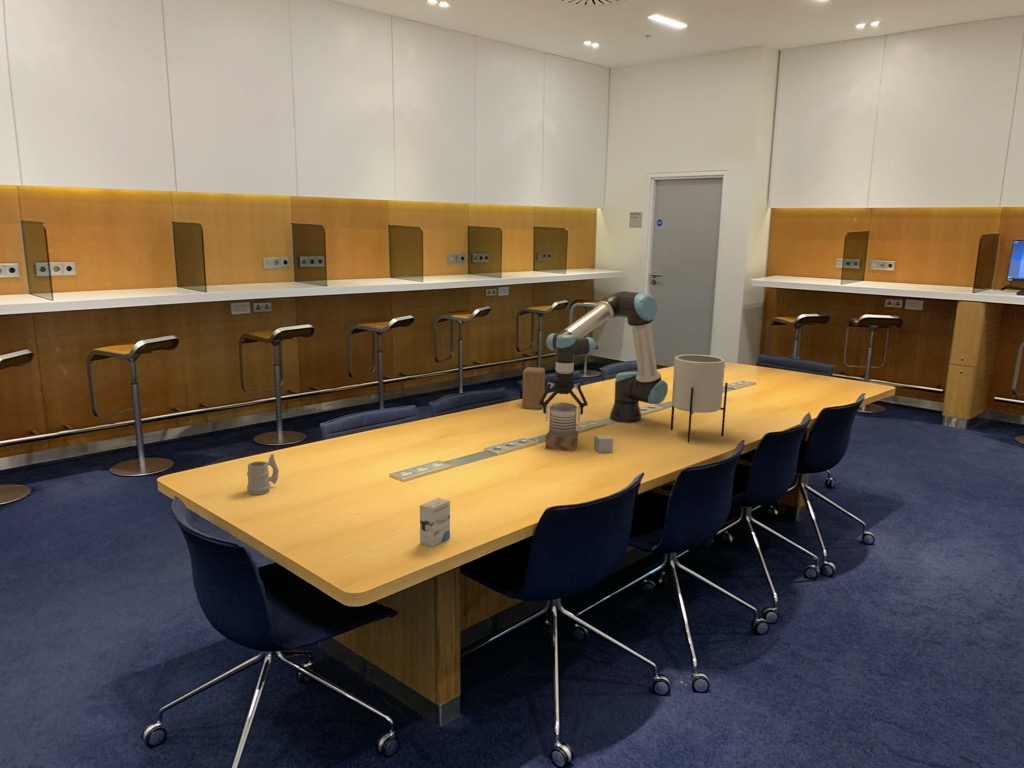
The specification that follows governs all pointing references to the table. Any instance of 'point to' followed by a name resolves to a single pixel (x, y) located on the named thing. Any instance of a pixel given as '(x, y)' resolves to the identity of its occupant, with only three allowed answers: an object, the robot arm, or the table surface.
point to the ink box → (434, 522)
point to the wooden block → (533, 387)
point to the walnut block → (561, 442)
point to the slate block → (603, 443)
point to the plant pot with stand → (698, 385)
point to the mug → (261, 476)
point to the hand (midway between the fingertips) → (562, 421)
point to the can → (562, 419)
